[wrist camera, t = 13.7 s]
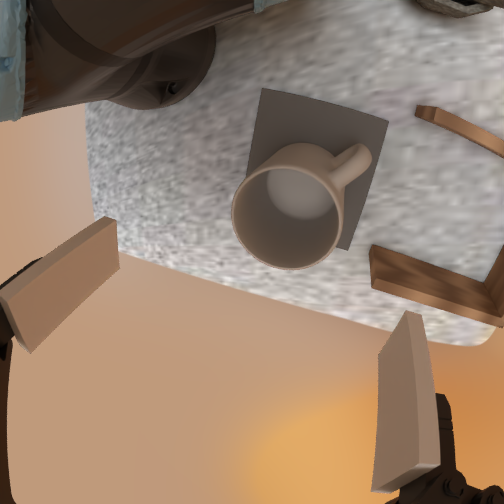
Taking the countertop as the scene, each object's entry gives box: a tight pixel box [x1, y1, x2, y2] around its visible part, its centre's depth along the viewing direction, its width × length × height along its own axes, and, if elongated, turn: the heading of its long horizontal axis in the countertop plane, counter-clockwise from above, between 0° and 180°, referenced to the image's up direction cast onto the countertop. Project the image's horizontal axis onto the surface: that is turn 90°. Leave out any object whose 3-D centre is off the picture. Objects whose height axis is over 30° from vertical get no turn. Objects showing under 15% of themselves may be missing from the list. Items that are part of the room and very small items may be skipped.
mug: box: [231, 143, 372, 270], centre depth 26 cm, size 12×8×11 cm
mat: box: [246, 88, 389, 251], centre depth 31 cm, size 13×15×1 cm
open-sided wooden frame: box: [369, 105, 504, 328], centre depth 25 cm, size 18×17×7 cm
